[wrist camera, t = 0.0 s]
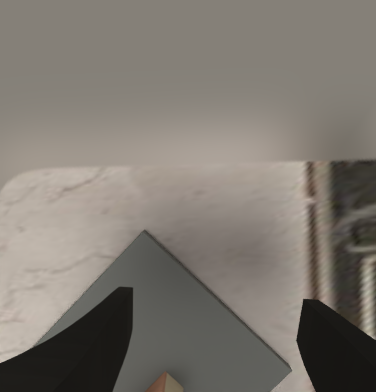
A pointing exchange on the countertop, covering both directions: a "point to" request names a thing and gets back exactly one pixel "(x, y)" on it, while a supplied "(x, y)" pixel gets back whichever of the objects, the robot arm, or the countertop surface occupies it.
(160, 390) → the tile
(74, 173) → the countertop surface
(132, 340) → the mat
